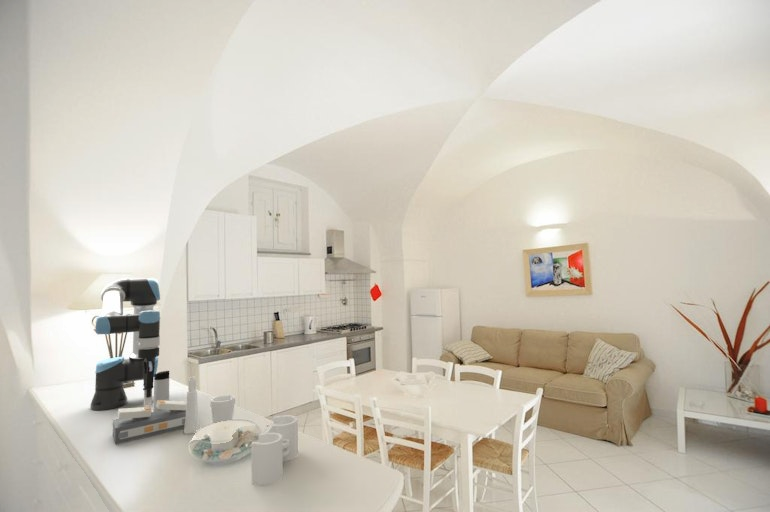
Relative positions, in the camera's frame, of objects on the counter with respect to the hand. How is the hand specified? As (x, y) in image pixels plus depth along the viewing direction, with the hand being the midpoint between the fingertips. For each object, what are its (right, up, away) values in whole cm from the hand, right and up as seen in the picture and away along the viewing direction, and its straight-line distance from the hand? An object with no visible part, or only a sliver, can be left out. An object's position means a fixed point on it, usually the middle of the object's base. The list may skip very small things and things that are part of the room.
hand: (147, 404), depth 158 cm
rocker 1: (-3, -3, -3) cm, 6 cm away
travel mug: (-6, -13, +20) cm, 24 cm away
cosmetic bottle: (+19, -11, -1) cm, 22 cm away
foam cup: (+32, -10, -1) cm, 33 cm away
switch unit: (+2, -11, 0) cm, 11 cm away
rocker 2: (+7, -3, +5) cm, 9 cm away
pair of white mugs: (+63, -8, -32) cm, 71 cm away
